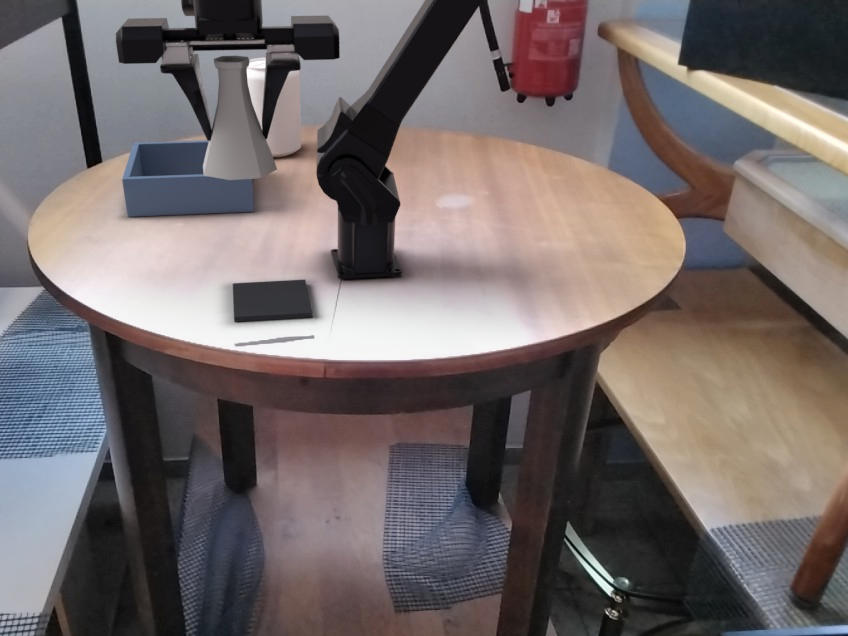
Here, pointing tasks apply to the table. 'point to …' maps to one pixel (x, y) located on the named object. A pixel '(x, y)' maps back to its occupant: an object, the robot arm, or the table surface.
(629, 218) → the table surface
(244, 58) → the flask
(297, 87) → the beverage can
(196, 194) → the tote
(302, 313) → the coaster
